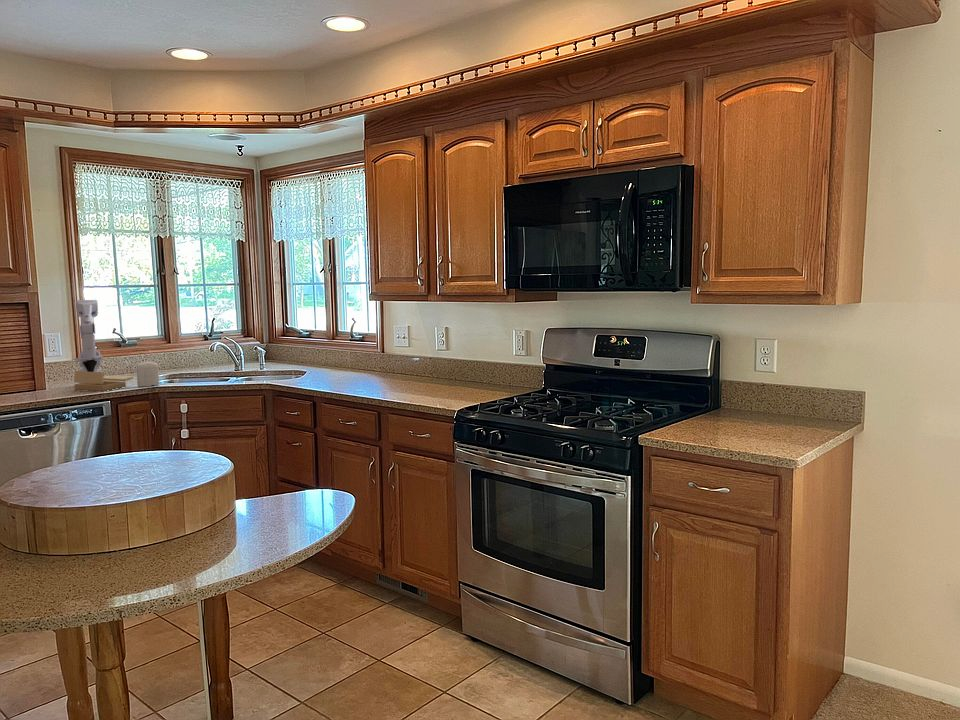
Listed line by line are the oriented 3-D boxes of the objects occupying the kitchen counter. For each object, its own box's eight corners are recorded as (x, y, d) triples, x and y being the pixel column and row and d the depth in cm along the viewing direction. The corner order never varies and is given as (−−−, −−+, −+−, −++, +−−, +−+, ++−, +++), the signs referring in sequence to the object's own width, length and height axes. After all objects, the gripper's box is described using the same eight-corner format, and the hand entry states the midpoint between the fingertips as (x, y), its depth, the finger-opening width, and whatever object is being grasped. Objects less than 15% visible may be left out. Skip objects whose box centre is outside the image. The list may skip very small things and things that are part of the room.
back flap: (106, 375, 380) (106, 377, 380) (98, 378, 375) (98, 380, 375) (133, 376, 374) (133, 378, 375) (124, 379, 369) (125, 381, 370)
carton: (74, 390, 362) (74, 384, 362) (97, 386, 375) (97, 380, 375) (103, 391, 356) (103, 385, 356) (125, 387, 370) (125, 381, 369)
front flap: (75, 382, 362) (74, 382, 361) (76, 371, 362) (74, 371, 361) (103, 383, 357) (101, 383, 356) (103, 372, 357) (102, 372, 356)
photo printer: (158, 384, 381) (157, 361, 379) (160, 385, 377) (158, 361, 376) (136, 386, 375) (135, 362, 374) (138, 387, 372) (137, 363, 370)
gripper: (82, 349, 350) (84, 377, 351) (107, 346, 364) (108, 374, 365) (71, 349, 352) (73, 377, 354) (95, 346, 366) (97, 373, 367)
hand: (90, 375), depth 360 cm, fingers closed, pressing on front flap
